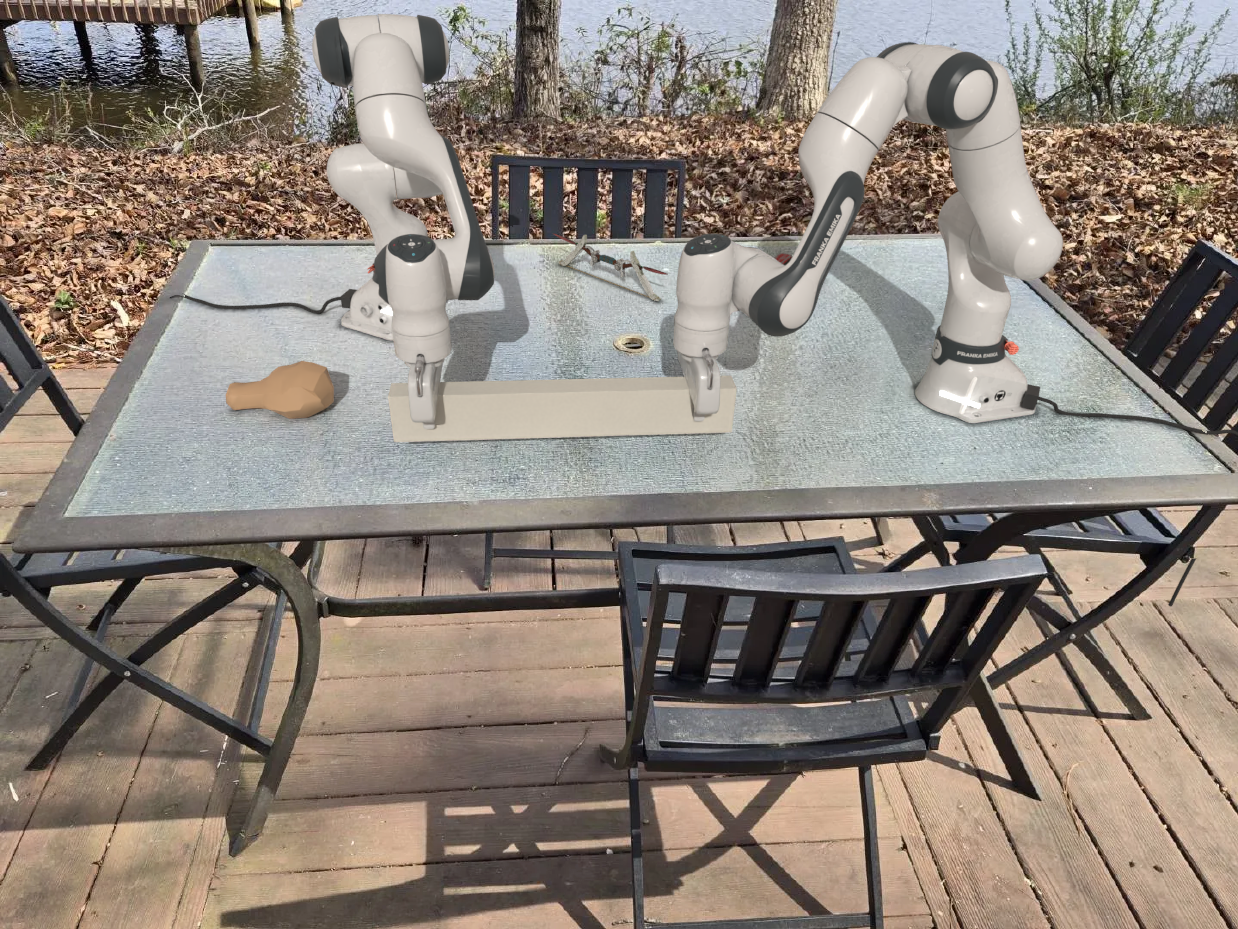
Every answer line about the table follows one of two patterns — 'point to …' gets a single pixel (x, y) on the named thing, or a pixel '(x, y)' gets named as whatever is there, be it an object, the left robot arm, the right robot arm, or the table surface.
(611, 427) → the beam
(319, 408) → the squash
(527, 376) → the table surface
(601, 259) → the bow
